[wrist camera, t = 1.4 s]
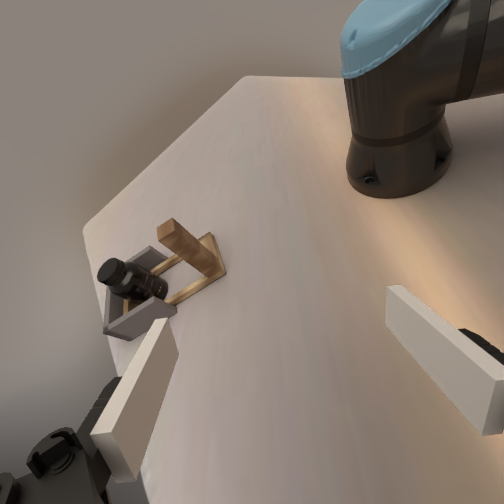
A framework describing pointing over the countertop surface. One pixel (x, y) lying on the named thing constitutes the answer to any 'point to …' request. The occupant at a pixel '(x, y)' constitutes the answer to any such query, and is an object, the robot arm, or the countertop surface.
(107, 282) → the supplement bottle
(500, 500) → the countertop surface
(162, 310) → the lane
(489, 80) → the robot arm
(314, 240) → the countertop surface
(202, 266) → the wooden corner frame
